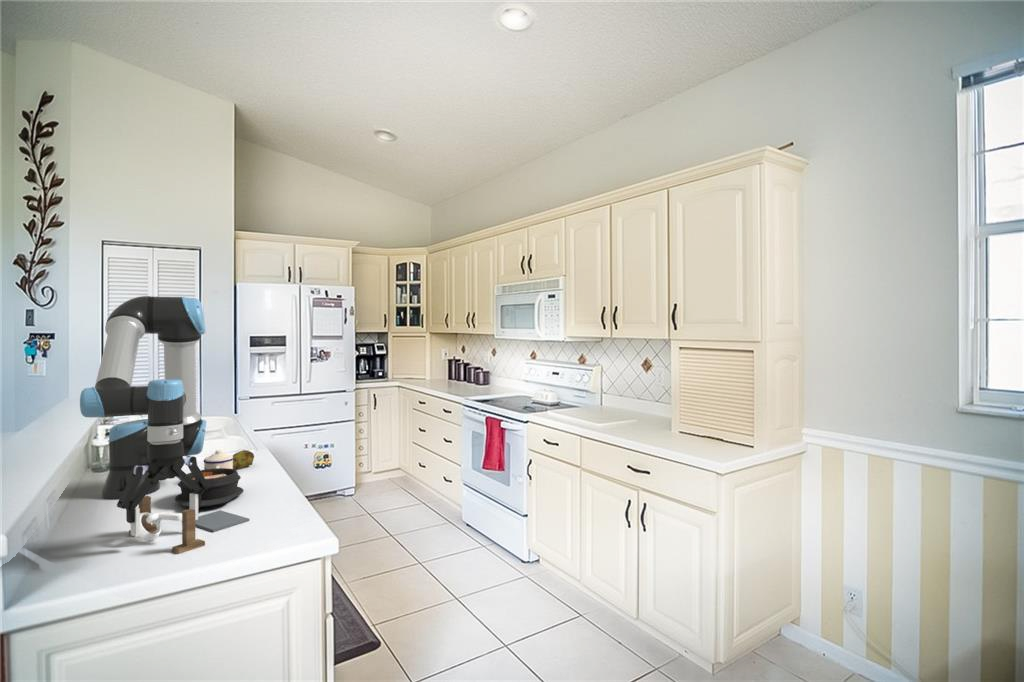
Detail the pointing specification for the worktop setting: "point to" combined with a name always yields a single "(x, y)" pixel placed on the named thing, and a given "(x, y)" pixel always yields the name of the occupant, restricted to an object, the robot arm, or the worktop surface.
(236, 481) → the casserole
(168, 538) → the worktop surface
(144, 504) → the rack
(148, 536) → the white vr controller
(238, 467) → the potato
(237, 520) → the mat
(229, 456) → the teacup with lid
